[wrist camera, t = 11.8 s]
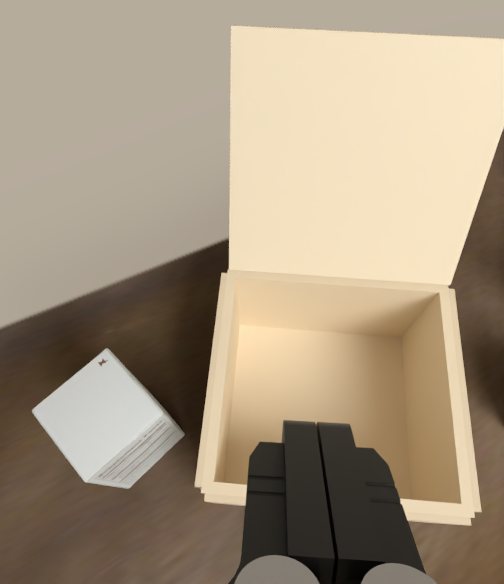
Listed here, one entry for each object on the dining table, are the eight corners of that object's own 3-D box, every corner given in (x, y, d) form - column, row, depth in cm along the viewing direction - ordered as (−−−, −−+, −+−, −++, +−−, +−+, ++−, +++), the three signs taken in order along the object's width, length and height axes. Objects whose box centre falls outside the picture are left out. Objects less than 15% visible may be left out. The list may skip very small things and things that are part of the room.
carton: (208, 502, 43) (192, 500, 32) (229, 320, 51) (222, 268, 40) (424, 522, 42) (483, 526, 31) (410, 333, 50) (453, 285, 39)
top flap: (231, 25, 29) (232, 25, 29) (228, 269, 39) (229, 265, 39) (532, 40, 28) (527, 39, 29) (450, 285, 38) (447, 280, 39)
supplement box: (83, 433, 46) (26, 408, 34) (142, 383, 48) (107, 343, 36) (128, 492, 43) (82, 485, 32) (188, 436, 45) (165, 411, 34)
